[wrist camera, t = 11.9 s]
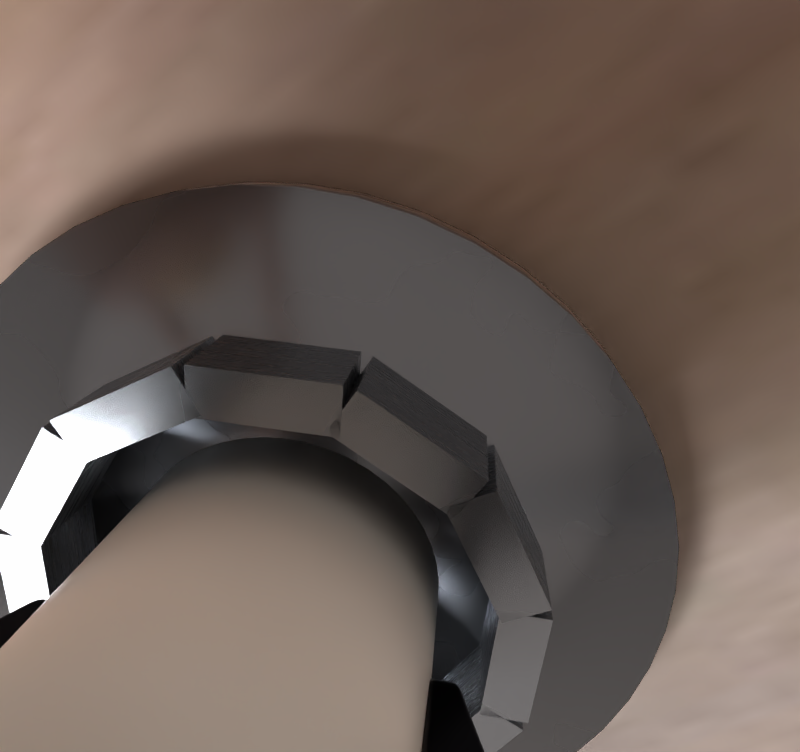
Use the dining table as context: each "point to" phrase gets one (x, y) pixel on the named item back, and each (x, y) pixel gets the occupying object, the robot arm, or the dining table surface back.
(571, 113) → the dining table surface
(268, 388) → the collar
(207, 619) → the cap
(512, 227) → the dining table surface
